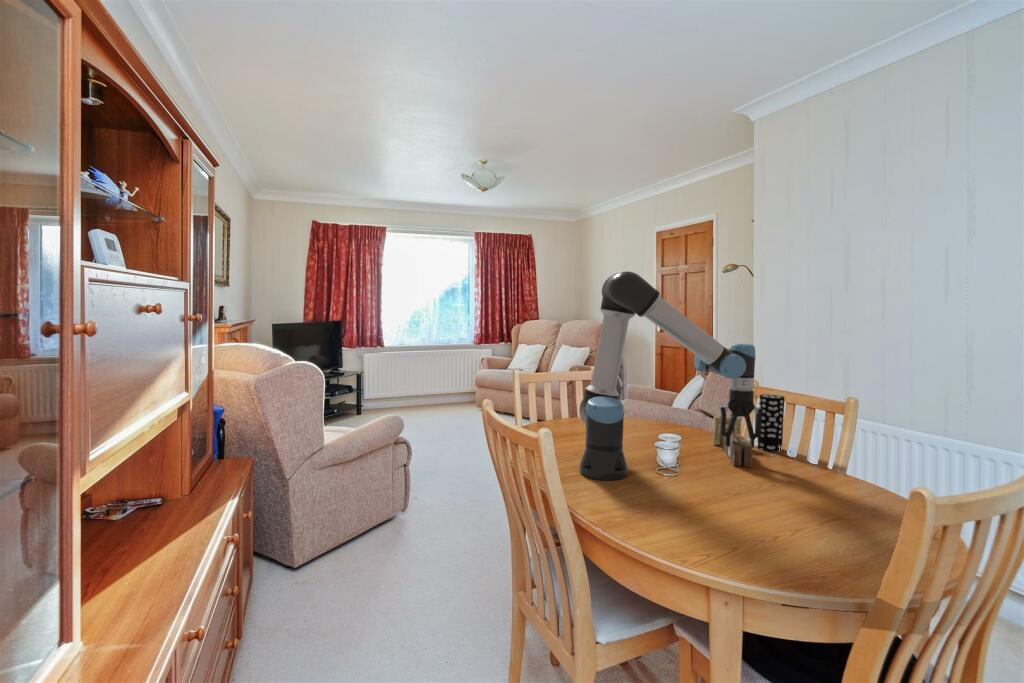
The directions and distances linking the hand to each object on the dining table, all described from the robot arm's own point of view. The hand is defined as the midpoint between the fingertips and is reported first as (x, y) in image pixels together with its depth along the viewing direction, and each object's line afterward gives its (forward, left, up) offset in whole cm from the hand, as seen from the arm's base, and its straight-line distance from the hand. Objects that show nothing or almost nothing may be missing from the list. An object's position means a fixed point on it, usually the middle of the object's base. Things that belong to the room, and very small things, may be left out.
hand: (739, 456), depth 176 cm
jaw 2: (+1, +4, -2) cm, 5 cm away
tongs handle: (0, +20, -2) cm, 20 cm away
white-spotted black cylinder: (+15, +20, -2) cm, 25 cm away
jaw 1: (-2, +4, -2) cm, 5 cm away
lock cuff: (0, +21, -2) cm, 21 cm away
